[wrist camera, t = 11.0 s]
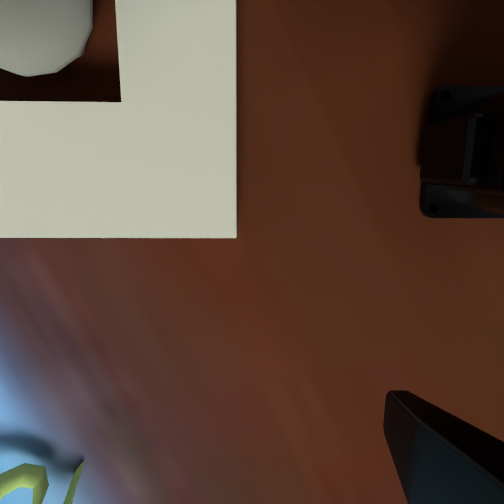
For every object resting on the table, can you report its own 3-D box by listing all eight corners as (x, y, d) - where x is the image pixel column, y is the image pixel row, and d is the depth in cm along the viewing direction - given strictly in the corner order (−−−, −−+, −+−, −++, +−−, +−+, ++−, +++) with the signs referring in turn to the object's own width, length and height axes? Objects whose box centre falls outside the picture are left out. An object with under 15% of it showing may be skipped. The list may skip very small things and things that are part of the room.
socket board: (235, -233, 17) (235, -303, 14) (236, 229, 21) (236, 238, 18) (-199, -249, 16) (-277, -323, 14) (-108, 229, 20) (-157, 237, 18)
